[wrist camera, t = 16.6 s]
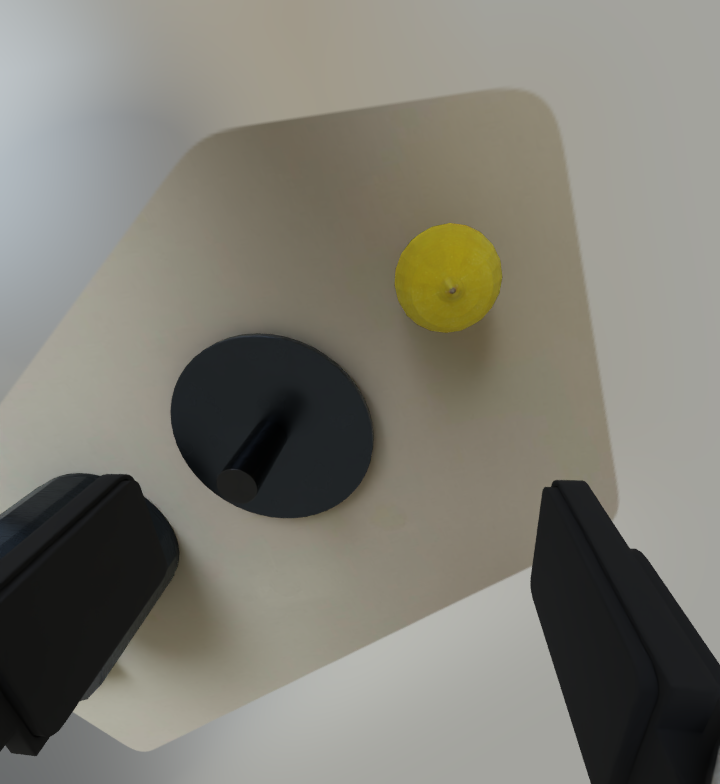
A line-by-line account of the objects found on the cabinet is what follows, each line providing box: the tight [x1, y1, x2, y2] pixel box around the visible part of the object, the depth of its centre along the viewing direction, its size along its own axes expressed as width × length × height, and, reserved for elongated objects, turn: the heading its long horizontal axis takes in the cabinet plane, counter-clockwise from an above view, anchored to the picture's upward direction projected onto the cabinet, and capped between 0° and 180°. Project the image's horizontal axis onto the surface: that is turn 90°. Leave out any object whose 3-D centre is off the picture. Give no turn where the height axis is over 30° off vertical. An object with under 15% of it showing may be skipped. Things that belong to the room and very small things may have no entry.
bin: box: [0, 473, 179, 701], centre depth 33 cm, size 15×15×10 cm
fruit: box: [395, 223, 502, 333], centre depth 21 cm, size 6×6×8 cm
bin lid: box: [171, 333, 373, 518], centre depth 28 cm, size 16×16×7 cm
